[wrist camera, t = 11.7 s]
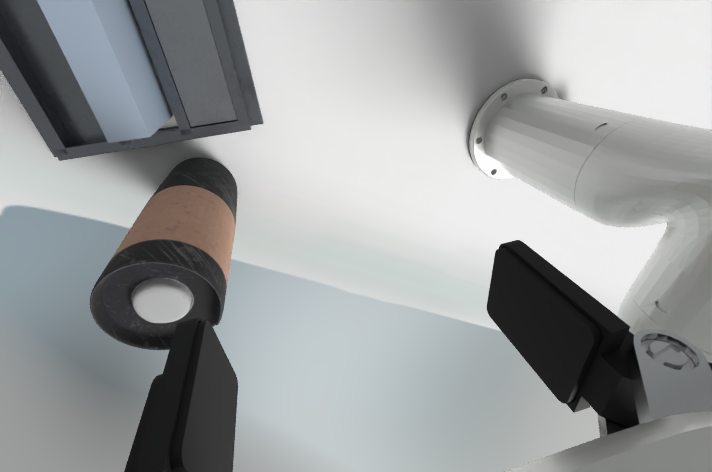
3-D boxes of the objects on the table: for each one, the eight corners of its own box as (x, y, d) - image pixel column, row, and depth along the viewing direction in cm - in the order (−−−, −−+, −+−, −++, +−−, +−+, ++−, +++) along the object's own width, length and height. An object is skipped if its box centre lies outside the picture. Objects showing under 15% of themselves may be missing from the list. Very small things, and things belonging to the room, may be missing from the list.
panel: (124, -10, 27) (80, -25, 20) (172, 116, 32) (150, 136, 26) (84, -7, 26) (26, -21, 20) (140, 120, 32) (108, 143, 25)
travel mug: (162, 150, 34) (72, 258, 18) (240, 158, 37) (224, 260, 20) (169, 216, 38) (98, 356, 21) (239, 219, 40) (225, 348, 24)
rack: (221, -48, 28) (218, -55, 25) (263, 122, 35) (263, 128, 33) (-53, -26, 25) (-84, -32, 22) (57, 155, 32) (42, 164, 30)
